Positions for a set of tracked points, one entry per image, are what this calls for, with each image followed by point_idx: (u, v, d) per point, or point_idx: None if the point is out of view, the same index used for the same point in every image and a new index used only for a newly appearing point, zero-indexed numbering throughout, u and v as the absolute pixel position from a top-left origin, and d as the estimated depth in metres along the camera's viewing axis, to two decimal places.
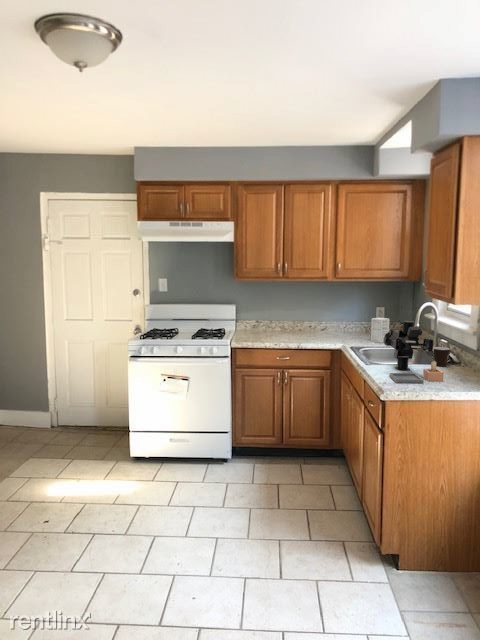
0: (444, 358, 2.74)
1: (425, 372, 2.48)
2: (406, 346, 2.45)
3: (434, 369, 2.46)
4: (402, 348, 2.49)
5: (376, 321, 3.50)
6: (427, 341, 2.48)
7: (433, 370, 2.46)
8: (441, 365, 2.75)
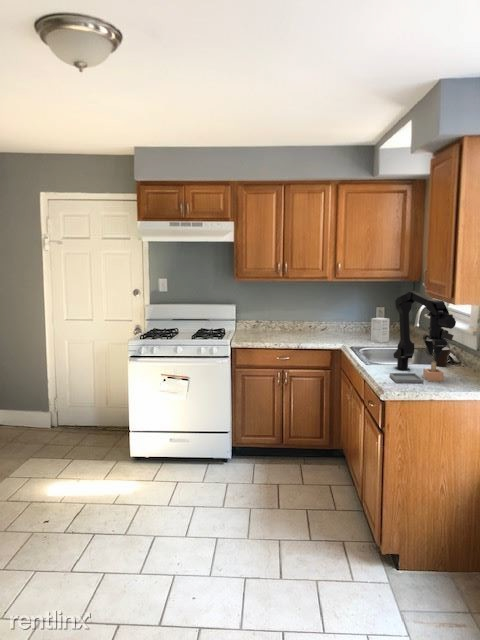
0: (444, 358, 2.74)
1: (425, 372, 2.48)
2: (438, 354, 2.41)
3: (434, 369, 2.46)
4: (435, 348, 2.40)
5: (376, 321, 3.50)
6: None
7: (433, 370, 2.46)
8: (441, 365, 2.75)
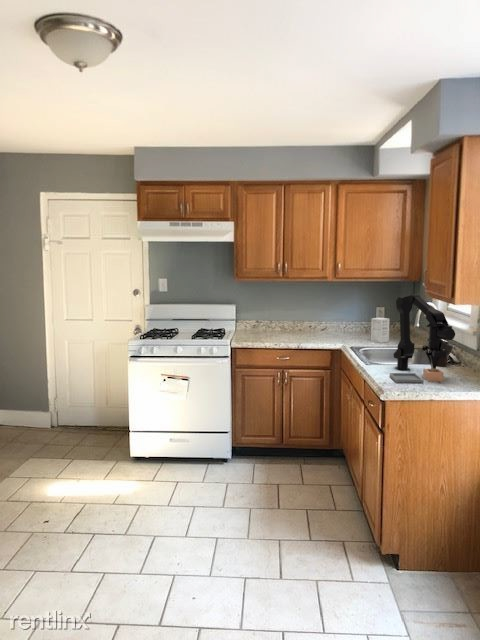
0: (444, 358, 2.74)
1: (425, 372, 2.48)
2: (435, 364, 2.45)
3: (434, 369, 2.46)
4: (432, 358, 2.43)
5: (376, 321, 3.50)
6: None
7: (433, 370, 2.46)
8: (441, 365, 2.75)
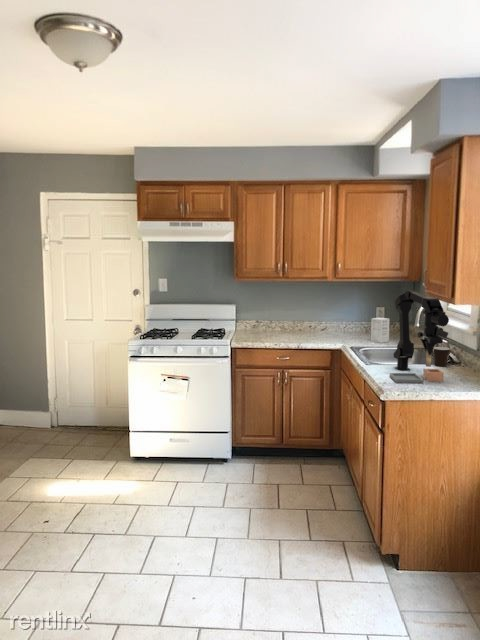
0: (444, 358, 2.74)
1: (425, 372, 2.48)
2: (430, 350, 2.43)
3: (429, 356, 2.45)
4: (428, 344, 2.42)
5: (376, 321, 3.50)
6: None
7: (428, 357, 2.45)
8: (441, 365, 2.75)
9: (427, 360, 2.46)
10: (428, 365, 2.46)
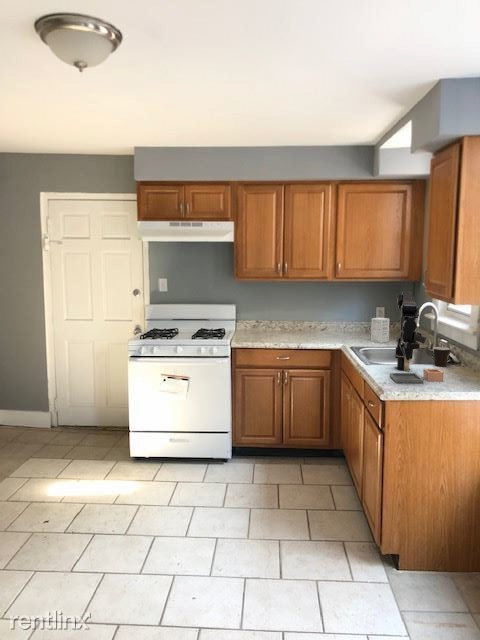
0: (444, 358, 2.74)
1: (425, 372, 2.48)
2: (408, 355, 2.43)
3: (407, 361, 2.44)
4: (405, 350, 2.41)
5: (376, 321, 3.50)
6: None
7: (406, 362, 2.44)
8: (441, 365, 2.75)
9: (405, 365, 2.45)
10: (406, 370, 2.45)
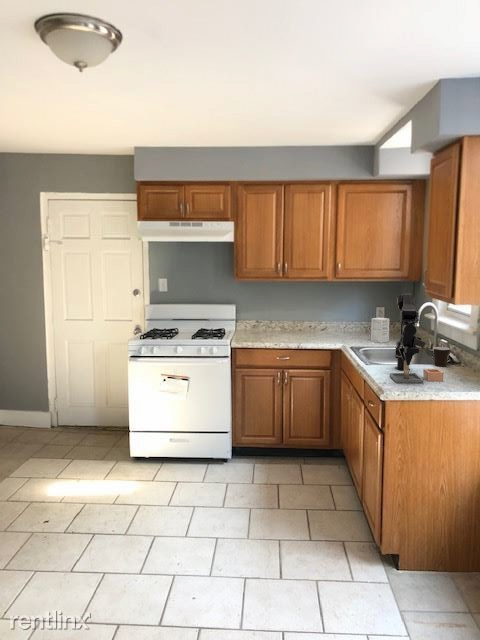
0: (444, 358, 2.74)
1: (425, 372, 2.48)
2: (409, 361, 2.42)
3: (407, 368, 2.45)
4: (406, 355, 2.40)
5: (376, 321, 3.50)
6: None
7: (406, 369, 2.45)
8: (441, 365, 2.75)
9: (404, 372, 2.45)
10: (406, 377, 2.45)
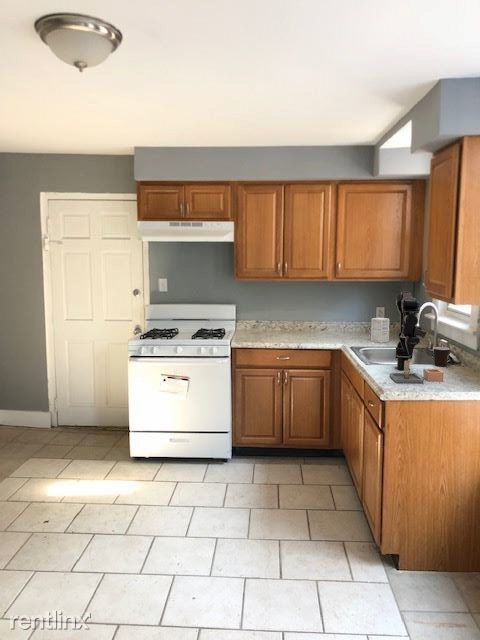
0: (444, 358, 2.74)
1: (425, 372, 2.48)
2: (410, 351, 2.45)
3: (407, 368, 2.45)
4: (408, 345, 2.43)
5: (376, 321, 3.50)
6: None
7: (406, 369, 2.45)
8: (441, 365, 2.75)
9: (405, 372, 2.45)
10: (406, 377, 2.45)
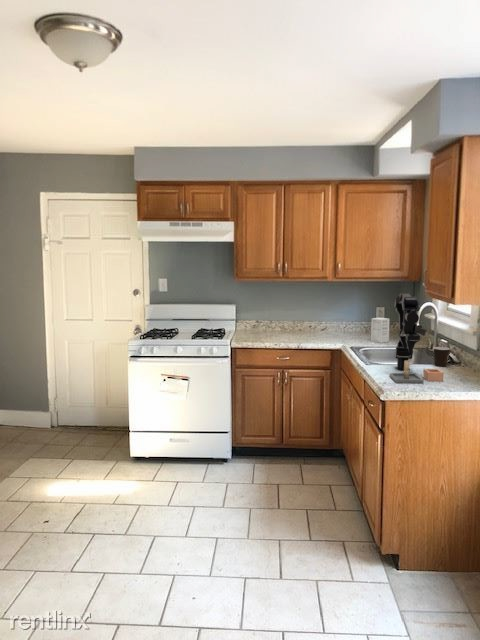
0: (444, 358, 2.74)
1: (425, 372, 2.48)
2: (411, 348, 2.48)
3: (407, 368, 2.45)
4: (408, 343, 2.47)
5: (376, 321, 3.50)
6: None
7: (406, 369, 2.45)
8: (441, 365, 2.75)
9: (405, 372, 2.45)
10: (406, 378, 2.45)
